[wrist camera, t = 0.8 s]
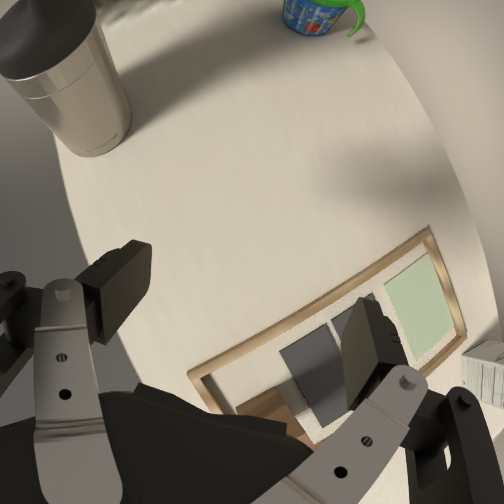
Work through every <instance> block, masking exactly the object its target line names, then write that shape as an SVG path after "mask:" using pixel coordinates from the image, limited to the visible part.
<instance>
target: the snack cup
mask: <svg viewBox="0 0 504 504" xmlns="http://www.w3.org/2000/svg"><path fill="white" fill-rule="evenodd" d="M349 6H350V7H352V8H353V9H354V10H355V11H356V13H357V14H358V18H357V24H356V25H355V27H354V28H353V29H352V31H351V32H350V33H349V34H348V35H347V36H348V37H350V36H351V35H353V34H354V33H355V32H357V31H358V30H359V29H360V28H361V27H362V25H363V23H364V20H365V8H364V6H363V3H362V2H361V0H284V4H283V18H284V22H285V24H286V25H288V26H289V27H290V28H291V29H293V30H295V31H297V32H300V33H301V34H303V35H305V36H307V35H311V36H316V35H322V34H325V33H326V32H327V31H328V30H329V29H330V28H331V26H332V25H333V24H334V23H335V22H336V21H337V20H338V18H339V17H340V16H341V15H342V14H343V13H344V11H345V10H346V9H347V7H349Z"/></svg>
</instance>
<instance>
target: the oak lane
mask: <svg viewBox="0 0 504 504" xmlns="http://www.w3.org/2000/svg"><path fill="white" fill-rule="evenodd" d="M422 241H423V243H424V245H425V247H426V250H427V252H428V253H429V256H430V258H431V261H432V263H433V266H434V268H435V271H436V274H437V276H438V279H439V281H440V284H441V287H442V290H443V292H444V295H445V298H446V301H447V304H448V307H449V310H450V313H451V316H452V319H453V322H454V327H455V330H456V333H457V336H456V337H455V338H454V339H453V340H452V341H451V342H450V343H449V344H448V345H447V346H445V347H444V348H443V349H442V350H441V351H440V352H439V353H438V354H437V355H436V356H435V357H434V358H432V359H431V360H430V361H429V362H428V363H427V364H426V365H425V366H423V367H422V368H421V369H420V370H419V372H420V373H421V374H422V375H423V376H424V378H426V377H427V376H428V375H429V374H430V373H432V372H433V371H434V370H435V369H436V368H437V367H438V366H439V365H440V364H441V363H442V362H444V361H445V360H446V359H447V358H448V357H449V356H450V355H451V354H452V353H453V352H454V351H455V350H456V349H457V348H458V347H459V346H460V345H461V344H462V343H463V342H464V341H465V340H466V339H467V338H468V337H467V334H466V330H465V326H464V323H463V320H462V316H461V313H460V310H459V307H458V303H457V300H456V297H455V294H454V291H453V289H452V286H451V283H450V280H449V277H448V274H447V272H446V269H445V266H444V264H443V261H442V259H441V256H440V254H439V251H438V249H437V246H436V244H435V241H434V239H433V237H432V234H431V232H430V230H429V228H426V229H423V230H422V231H420V232H419V233H417V234H416V235H415V236H413V237H412V238H410V239H409V240H407V241H406V242H405V243H403V244H402V245H400V246H399V247H397V248H396V249H394V250H393V251H391V252H390V253H389V254H387V255H386V256H384V257H383V258H381V259H380V260H378V261H377V262H375V263H374V264H372V265H371V266H369V267H368V268H366V269H364V270H363V271H361V272H360V273H358V274H357V275H355V276H354V277H352V278H351V279H349V280H347V281H346V282H344V283H343V284H341V285H340V286H338V287H336V288H335V289H333V290H332V291H330V292H328V293H327V294H325V295H323V296H322V297H320V298H319V299H317V300H315V301H314V302H312V303H310V304H309V305H307V306H305V307H304V308H302V309H300V310H299V311H297V312H295V313H294V314H292V315H290V316H288V317H287V318H285V319H283V320H282V321H280V322H278V323H276V324H275V325H273V326H271V327H269V328H268V329H266V330H264V331H262V332H260V333H259V334H257V335H255V336H253V337H252V338H250V339H248V340H246V341H244V342H242V343H241V344H239V345H237V346H235V347H233V348H231V349H229V350H228V351H226V352H224V353H222V354H220V355H218V356H216V357H214V358H212V359H211V360H209V361H207V362H205V363H203V364H201V365H199V366H197V367H195V368H193V369H191V370H189V371H187V376H188V378H189V379H190V381H191V382H192V384H193V386H194V387H195V389H196V390H197V392H198V393H199V395H200V396H201V398H202V400H203V401H204V403H205V404H206V406H207V407H208V409H209V410H210V412H211V413H212V414H224V412H223V411H222V409H221V408H220V406H219V405H218V403H217V402H216V400H215V399H214V397H213V395H212V394H211V392H210V391H209V389H208V388H207V386H206V385H205V383H204V381H203V380H202V378H201V377H203V376H205V375H207V374H209V373H211V372H213V371H215V370H217V369H219V368H220V367H222V366H224V365H226V364H228V363H230V362H232V361H234V360H236V359H237V358H239V357H241V356H243V355H245V354H247V353H248V352H250V351H252V350H254V349H256V348H257V347H259V346H261V345H263V344H265V343H266V342H268V341H270V340H272V339H273V338H275V337H277V336H279V335H280V334H282V333H284V332H285V331H287V330H289V329H291V328H292V327H294V326H296V325H297V324H299V323H301V322H302V321H304V320H306V319H307V318H309V317H311V316H312V315H314V314H316V313H317V312H319V311H320V310H322V309H324V308H325V307H327V306H328V305H330V304H332V303H333V302H335V301H336V300H338V299H339V298H341V297H343V296H344V295H346V294H347V293H349V292H350V291H352V290H353V289H355V288H356V287H358V286H359V285H361V284H362V283H364V282H365V281H367V280H368V279H370V278H371V277H373V276H374V275H376V274H377V273H379V272H380V271H382V270H383V269H385V268H386V267H388V266H389V265H390V264H392V263H393V262H395V261H396V260H398V259H399V258H400V257H402V256H403V255H405V254H406V253H407V252H409V251H410V250H412V249H413V248H414V247H416V246H417V245H418V244H420V243H421V242H422ZM330 436H331V435H330ZM330 436H329V437H330ZM329 437H327V438H325V439H324V440H322V441H320V442H319V443H317V444H315V445H314V446H315V448H316V449H318V448H319V447H320V446H321V445H322V444H323V443H324V442H325V441H326V440H327V439H328V438H329Z"/></svg>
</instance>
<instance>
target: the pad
mask: <svg viewBox="0 0 504 504" xmlns="http://www.w3.org/2000/svg"><path fill="white" fill-rule="evenodd" d="M384 287H385V289H386V292H387V294H388V296H389V299H390V301H391V303H392V306H393V308H394V310H395V313H396V315H397V318H398V320H399V323H400V325H401V328H402V330H403V333H404V335H405V338H406V340H407V343H408V345H409V348H410V351H411V353H412V356H413V359H414V360H415V361H416V360H417V359H419V358H420V357H421V356H422V355H423V354H424V353H426V352H427V351H428V350H429V349H430V348H431V347H432V346H433V345H435V344H436V343H437V342H438V341H439V340H440V339H441V338H442V337H443V336H444V335H445V334H446V333H447V332H449V331H450V330H451V329H452V328H453V327H454V322H453V319H452V316H451V313H450V310H449V307H448V304H447V301H446V298H445V295H444V292H443V290H442V287H441V284H440V281H439V279H438V276H437V274H436V271H435V268H434V266H433V263H432V261H431V258H430V256H429V253H426V254H424V255H423V256H422V257H420V258H419V259H418V260H416V261H415V262H414V263H412V264H411V265H410V266H408V267H407V268H406V269H404V270H403V271H402V272H400V273H399V274H398V275H396V276H395V277H393V278H392V279H391V280H389V281H388V282H386V283H385V284H384Z"/></svg>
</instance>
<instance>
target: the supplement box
mask: <svg viewBox="0 0 504 504" xmlns="http://www.w3.org/2000/svg"><path fill="white" fill-rule="evenodd" d="M461 371H462V372H461V387H463V388H466V389H468V390H469V391H470V392H472V393H473V394H474V395H475V396H476V398H477V399H478V401H481V402H484V403H486V404H489V405H492V406H494V407H497V408H500V409H502V410H504V343H503V342H498V341H492V340H487V341H485V342H484V343H482V344H481V345H479V346H478V347H476V348H474V349H472V350H470V351H469V352H467V353H465V354H463V355H462V370H461Z"/></svg>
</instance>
